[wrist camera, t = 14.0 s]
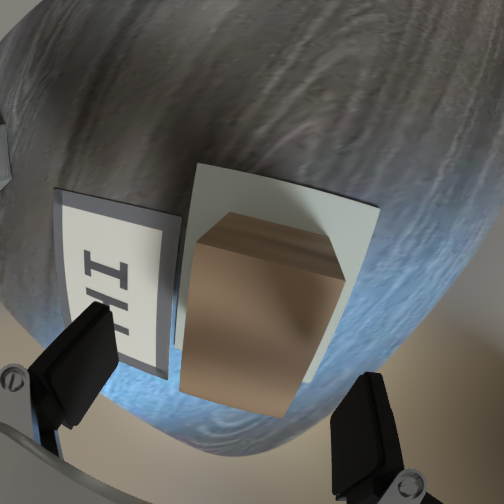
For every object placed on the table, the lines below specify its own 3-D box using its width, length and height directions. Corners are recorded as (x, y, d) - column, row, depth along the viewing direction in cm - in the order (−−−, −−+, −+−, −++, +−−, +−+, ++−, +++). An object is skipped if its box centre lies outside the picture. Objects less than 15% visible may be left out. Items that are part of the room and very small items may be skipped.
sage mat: (202, 162, 17) (197, 163, 16) (375, 206, 16) (380, 209, 15) (179, 340, 22) (174, 347, 21) (309, 374, 21) (309, 383, 20)
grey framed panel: (62, 186, 19) (53, 188, 18) (187, 213, 18) (181, 217, 17) (72, 329, 24) (66, 334, 23) (172, 373, 23) (168, 380, 22)
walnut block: (229, 211, 16) (195, 242, 11) (328, 237, 16) (345, 281, 10) (207, 332, 20) (179, 391, 14) (287, 353, 19) (282, 418, 14)
